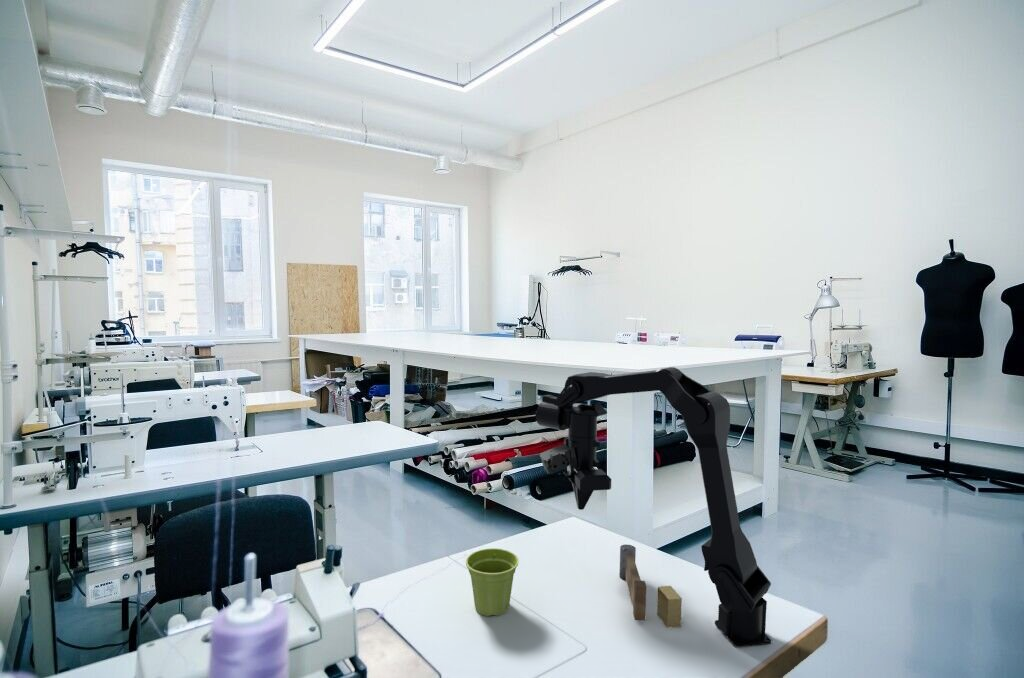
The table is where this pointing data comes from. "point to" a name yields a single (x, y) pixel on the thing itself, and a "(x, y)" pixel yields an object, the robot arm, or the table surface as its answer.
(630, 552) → the grey metal cylinder
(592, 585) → the table surface
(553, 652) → the table surface
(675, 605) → the block
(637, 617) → the wooden t-bar
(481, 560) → the plant pot
